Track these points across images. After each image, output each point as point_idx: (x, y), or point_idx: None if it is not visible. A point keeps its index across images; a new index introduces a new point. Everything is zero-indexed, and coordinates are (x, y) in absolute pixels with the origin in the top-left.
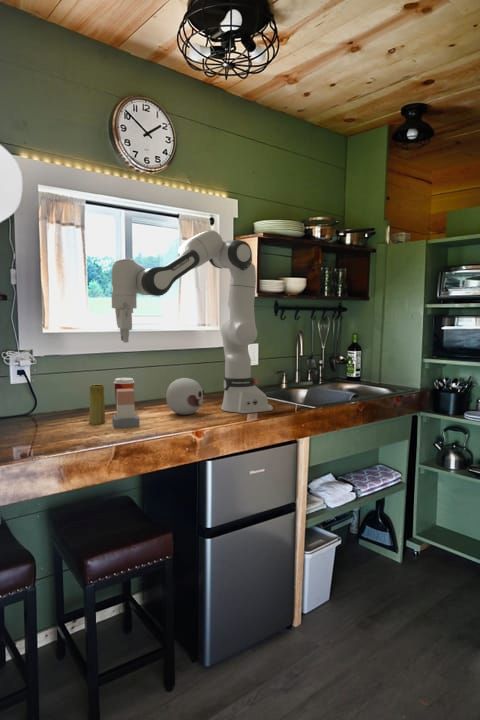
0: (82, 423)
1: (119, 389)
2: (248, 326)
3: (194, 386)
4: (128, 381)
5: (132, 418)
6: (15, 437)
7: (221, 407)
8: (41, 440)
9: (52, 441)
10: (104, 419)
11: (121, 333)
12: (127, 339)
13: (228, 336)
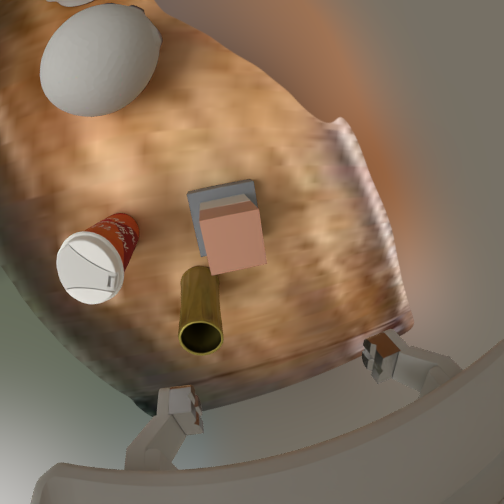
0: None
1: (220, 264)
2: None
3: (129, 12)
4: (109, 252)
5: (252, 198)
6: (302, 373)
7: (80, 2)
8: (329, 337)
9: (339, 320)
10: (203, 270)
11: (174, 450)
12: (400, 343)
13: None
